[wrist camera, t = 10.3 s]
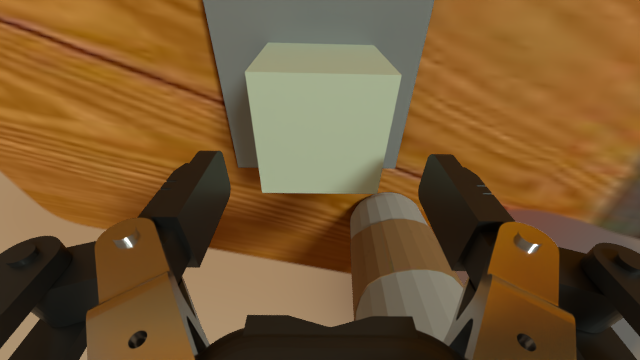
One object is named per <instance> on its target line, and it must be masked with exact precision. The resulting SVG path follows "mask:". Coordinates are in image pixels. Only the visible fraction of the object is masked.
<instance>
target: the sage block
mask: <svg viewBox="0 0 640 360" xmlns="http://www.w3.org/2000/svg"><path fill="white" fill-rule="evenodd" d="M245 76H246V83H247V90H248V97H249V104H250V111H251V118H252V125H253V132H254V139H255V146H256V153H257V159H258V166H259V173H260V180H261V187H262V193H337V194H377V192H378V187H379V182H380V177H381V172H382V168H383V163H384V158H385V153H386V148H387V144H388V139H389V134H390V129H391V124H392V120H393V115H394V110H395V105H396V100H397V96H398V91H399V86H400V81H401V76H402V75H401V74H400V73H399V72H398V71H397V70H396V68H395V67H394V66H393V65H392V64H391V63H390V62H389V61H388V60H387V59H386V58H385V57H384V56H383V55H382V53H381V52H380V51H379V50H378V49H377V48H376V47H375V46H374V45H347V44H308V43H267V44H266V46H265V47H264V48H263V49H262V51H261V52H260V53H259V54H258V56H257V57H256V58H255V59H254V61H253V62H252V63H251V65H250V66H249V67H248V68H247V70H246V71H245Z"/></svg>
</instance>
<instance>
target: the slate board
mask: <svg viewBox="0 0 640 360" xmlns="http://www.w3.org/2000/svg"><path fill="white" fill-rule="evenodd" d="M203 3H204V7H205V12H206V17H207V22H208V26H209V31H210V36H211V40H212V45H213V50H214V55H215V59H216V64H217V69H218V74H219V78H220V83H221V88H222V93H223V97H224V102H225V107H226V111H227V116H228V121H229V126H230V130H231V135H232V140H233V145H234V149H235V154H236V159H237V163H238V167H253V168H259V166H258V159H257V153H256V146H255V139H254V132H253V125H252V118H251V111H250V104H249V97H248V90H247V83H246V76H245V71H246V70H247V68H248V67H249V66H250V65H251V63H252V62H253V61H254V59H255V58H256V57H257V56H258V54H259V53H260V52H261V51H262V49H263V48H264V47H265V46H266V44H267V43H308V44H347V45H374V46H375V47H376V48H377V49H378V50H379V51H380V52H381V53H382V55H383V56H384V57H385V58H386V59H387V60H388V61H389V62H390V63H391V64H392V65H393V66H394V67H395V68H396V70H397V71H398V72H399V73H400V74H401V75H402V76H401V81H400V86H399V91H398V96H397V100H396V105H395V110H394V115H393V120H392V124H391V129H390V134H389V139H388V144H387V148H386V153H385V158H384V163H383V168H395V166H396V161H397V157H398V153H399V149H400V144H401V140H402V136H403V131H404V127H405V123H406V119H407V114H408V110H409V106H410V102H411V97H412V93H413V89H414V85H415V80H416V76H417V72H418V68H419V63H420V59H421V55H422V51H423V46H424V42H425V38H426V34H427V29H428V25H429V21H430V17H431V12H432V8H433V4H434V0H203Z"/></svg>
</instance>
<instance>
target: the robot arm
mask: <svg viewBox="0 0 640 360" xmlns="http://www.w3.org/2000/svg"><path fill="white" fill-rule="evenodd" d="M418 195H419V200H420V203H421V205H422V207H423V209H424V211H425V214H426V216H427V218H428V220H429V222H430V224H431V227H432V229H433V231H434V233H435V235H436V237H437V240H438V242H439V244H440V246H441V248H442V251H443V253H444V255H445V257H446V259H447V261H448V264H449V266H450V268H451V270H452V271H466V272H467V274H468V276H469V277H468V279H467V280H466V282H465V285H464V288H463V291H462V294H461V297H460V300H459V303H458V306H457V308H456V311H455V314H454V317H453V320H452V323H451V326H450V328H449V331H448V333H447V335H446V337H445V339H444V341H443V342H442V341H440V340H438V339H437V338H435V337H433V336H431V335H429V334H426V333H424V332H422V331H419V330H416V327H415V324H414V320H413V316H371V317H367V318H363V319H360V320H356V321H353V322H349V323H346V324H342V325H339V326H335V327H326V326H323V325H319V324H316V323H313V322H309V321H306V320H302V319H299V318H295V317H292V316H288V315H247V319H246V323H245V328H243V329H239V330H237V331H234V332H232V333H229V334H227V335H226V336H224V337H222V338H220V339H218V340H217V341H215V342H214V343H212V344H211V345H210V344H209V342H208V340H207V338H206V335H205V333H204V331H203V329H202V327H201V324H200V322H199V319H198V316H197V313H196V311H195V308H194V305H193V303H192V300H191V297H190V295H189V292H188V289H187V287H186V284H185V281H184V279H183V277H182V275H183V273H184V271H185V269H186V267H200V265H201V262H202V260H203V258H204V256H205V253H206V251H207V249H208V246H209V244H210V242H211V239H212V237H213V235H214V232H215V230H216V228H217V225H218V223H219V221H220V218H221V216H222V214H223V211H224V209H225V207H226V204H227V202H228V200H229V197H230V181H229V177H228V173H227V169H226V165H225V161H224V157H223V154H222V152H221V151H199V152H198V153H197V154H196V155H195V157H194V158H193V159H192V161H191V162H190V163H185V164H184V165H182V166H181V167H179V168H178V169H176V170H175V171H174V172H173V173H172V174H171V175H170V177H169V178H168V179H167V182H165V183H164V184H163V186H162V187H161V190H159V191H158V192H157V193H156V194H155V196H154V197H153V198H152V200H151V201H150V202H149V203H148V205H147V206H146V207H145V208H144V210H143V211H142V212H141V214H140V215H139V216H138V217H137V218H132V219H127V220H124V221H122V222H119V223H117V224H115V225H113V226H112V227H110V228H108V229H107V230H106V231H105V232H103V233H102V234H101V236H100V237H99V238H98V240H97V241H94V242H90V243H86V244H81V245H76V246H72V247H67V248H66V247H65V246H64V245H63V243H62V242H61V241H60V240H59V239H58V238H56V237H53V236H41V237H36V238H32V239H29V240H26V241H23V242H21V243H19V244H16V245H14V246H12V247H11V248H9V249H8V250H6V251H4V252H3V253H1V254H0V348H1V347H2V346H3V345H4V343H5V342H6V341H7V340H8V339H9V337H10V336H11V335H12V334H13V333H14V331H15V330H16V329H17V328H18V326H19V325H20V324H21V322H23V320H24V319H25V318H26V317H27V315H28V314H29V313H30V312H32V313H33V314H35V315H36V316H37V317H39V318H40V320H39V321H38V322H37V323H36V325H35V326H34V327H33V329H32V330H31V331H30V332H29V334H28V335H27V336H26V337H25V339H24V340H23V341H22V343H21V344H20V345H19V347H18V348H17V349H16V350H15V352H14V353H13V354H12V356H11V357H10V358H9V359H8V360H79V359H80V357H81V355H82V354H83V352H84V350H85V349H86V347H87V356H88V360H637V359H636V358H635V357H634V355H633V354H632V353H631V351H630V350H629V349H628V348H627V346H626V345H625V344H624V343H623V341H622V340H621V339H620V338H619V336H618V335H617V334H616V333H615V331H614V330H613V329H612V328H611V326H612V325H613V324H615V323H616V322H617V321H619V320H621V319H622V318H624V319H625V320H626V321H627V322H628V323H629V325H631V327H632V328H633V329H634V330H635V332H636V333H637V334H638V335H639V336H640V254H639V253H637V252H635V251H633V250H631V249H628V248H626V247H623V246H620V245H617V244H611V243H599V244H596V245H595V247H593V248H592V249H591V250H590V251H589V252H588V253H587V254H585V253H581V252H577V251H573V250H569V249H564V248H560V247H557V245H556V243H555V242H554V241H553V240H552V239H551V238H550V237H549V236H548V235H546V234H545V233H544V232H542V231H540V230H539V229H537V228H535V227H533V226H530V225H527V224H524V223H519V222H515V220H514V219H513V218H512V217H511V216H510V215H509V213H508V212H507V211H506V210H505V208H504V207H503V206H502V205H501V204H500V202H499V201H498V200H497V199H496V197H495V196H494V195H492V194H491V191H490V190H489V189H488V188H487V187H485V184H484V183H483V182H482V180H481V179H480V178H479V177H478V176H477V175H476V174H474V173H473V172H471V171H470V170H468V169H467V168H465V167H462V166H461V165H460V163H459V162H458V161H457V159H456V158H455V157H454V156H453V155H451V154H431V155H430V156H429V157H428V159H427V162H426V166H425V169H424V172H423V175H422V178H421V182H420V185H419V190H418Z"/></svg>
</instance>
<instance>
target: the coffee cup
mask: <svg viewBox="0 0 640 360" xmlns="http://www.w3.org/2000/svg"><path fill="white" fill-rule="evenodd" d="M350 232H351V243H350V251H351V270H352V288H353V289H352V290H353V310H354V321H356V320H360V319H363V318H367V317H371V316H413V320H414V324H415V327H416V330H419V331H422V332H424V333H426V334H429V335H431V336H433V337H435V338H437V339H438V340H440V341H442V342H443V341H444V339H445V337H446V335H447V333H448V331H449V328H450V326H451V323H452V320H453V317H454V314H455V311H456V308H457V306H458V303H459V300H460V297H461V294H462V291H463V288H464V286H463V284H462V282H461V281H460V279H459V277H458V275H457V274H456V272H455V271H452V270H451V268H450V266H449V264H448V261H447V259H446V257H445V255H444V253H443V251H442V248H441V246H440V244H439V242H438V240H437V239H436V237H435V235H434V233H433V232H432V230H431V228H430V227H429V226H428V225H427V223H426V221H425V220H424V218H423V216H422V214H421V212H420V211H419V209H418V207H417V205H416V204H415V203H414V202H413V201H412V200H410V199H408V198H407V197H405V196H403V195H401V194H397V193H392V192H390V193H379V194H374V195H372V196H370V197H367V198H366V199H364V200H363V201H361V202H360V203H359V204H358V206H357V207H356V208H355V210H354V212H353V214H352V216H351V219H350Z"/></svg>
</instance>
